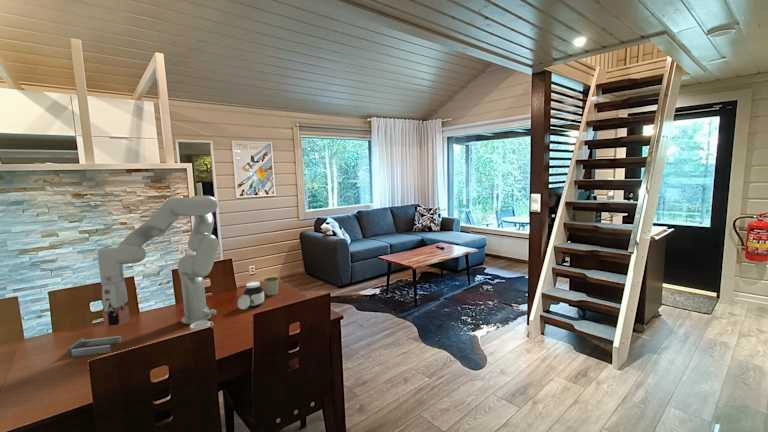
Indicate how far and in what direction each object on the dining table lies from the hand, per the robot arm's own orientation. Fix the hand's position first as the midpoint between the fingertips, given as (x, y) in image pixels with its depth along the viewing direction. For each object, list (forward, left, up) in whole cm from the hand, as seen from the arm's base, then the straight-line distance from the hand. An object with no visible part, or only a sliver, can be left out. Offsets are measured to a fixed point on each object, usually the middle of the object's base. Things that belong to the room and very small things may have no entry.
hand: (117, 321), depth 146 cm
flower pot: (-56, -48, -11) cm, 75 cm away
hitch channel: (+9, 0, -11) cm, 14 cm away
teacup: (-31, -1, -11) cm, 33 cm away
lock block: (0, 0, -1) cm, 1 cm away
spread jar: (-47, -31, -11) cm, 58 cm away
